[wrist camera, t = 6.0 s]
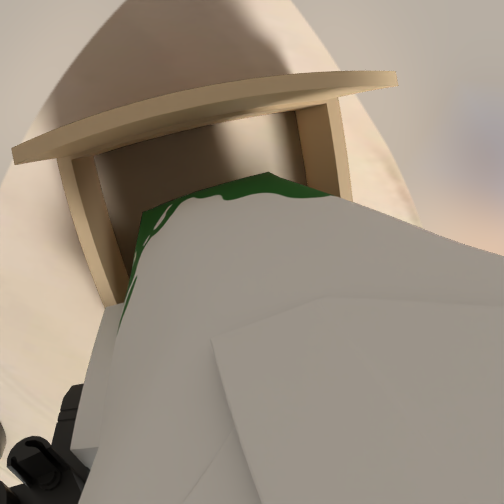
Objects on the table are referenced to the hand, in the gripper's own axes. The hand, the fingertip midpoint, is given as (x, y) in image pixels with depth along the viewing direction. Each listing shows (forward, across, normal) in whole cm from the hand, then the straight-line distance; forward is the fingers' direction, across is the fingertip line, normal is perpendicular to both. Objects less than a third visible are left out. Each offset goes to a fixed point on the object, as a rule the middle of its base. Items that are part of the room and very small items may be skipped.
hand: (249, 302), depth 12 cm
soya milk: (+7, 0, 0) cm, 7 cm away
